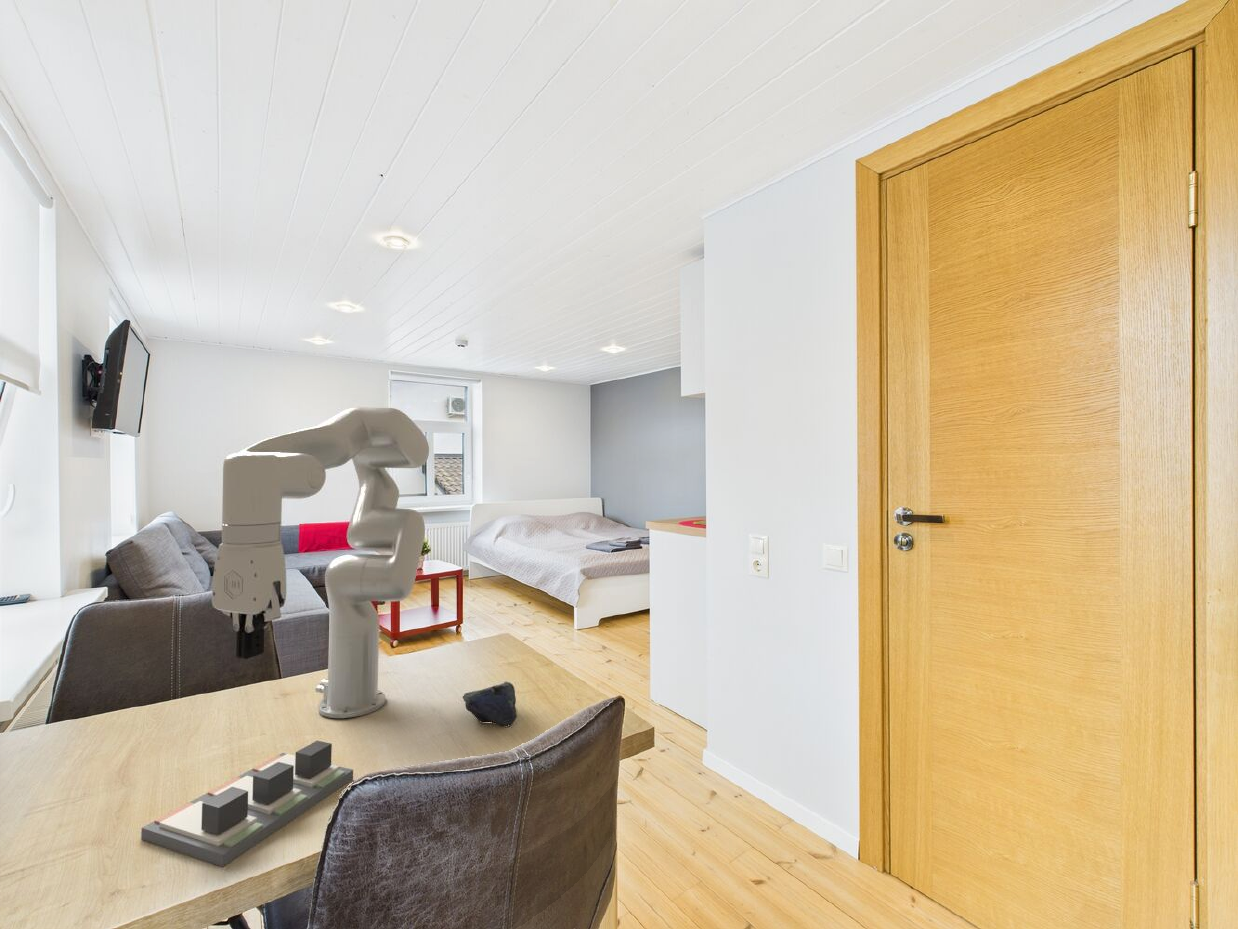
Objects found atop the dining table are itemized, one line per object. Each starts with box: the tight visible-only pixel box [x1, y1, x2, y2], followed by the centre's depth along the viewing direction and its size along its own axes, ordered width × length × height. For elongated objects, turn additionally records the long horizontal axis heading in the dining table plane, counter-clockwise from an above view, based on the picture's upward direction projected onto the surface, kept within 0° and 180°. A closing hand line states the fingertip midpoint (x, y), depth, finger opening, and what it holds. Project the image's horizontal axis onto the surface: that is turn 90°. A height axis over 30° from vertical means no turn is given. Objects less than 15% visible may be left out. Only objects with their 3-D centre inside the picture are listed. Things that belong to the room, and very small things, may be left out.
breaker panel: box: [140, 752, 354, 868], centre depth 81 cm, size 15×21×2 cm
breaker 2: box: [294, 740, 333, 779], centre depth 87 cm, size 3×4×4 cm
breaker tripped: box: [252, 762, 294, 805], centre depth 80 cm, size 3×4×4 cm
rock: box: [462, 681, 518, 727], centre depth 112 cm, size 16×8×10 cm
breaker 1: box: [201, 787, 248, 835], centre depth 74 cm, size 3×4×4 cm
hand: (250, 655), depth 84 cm, fingers closed
